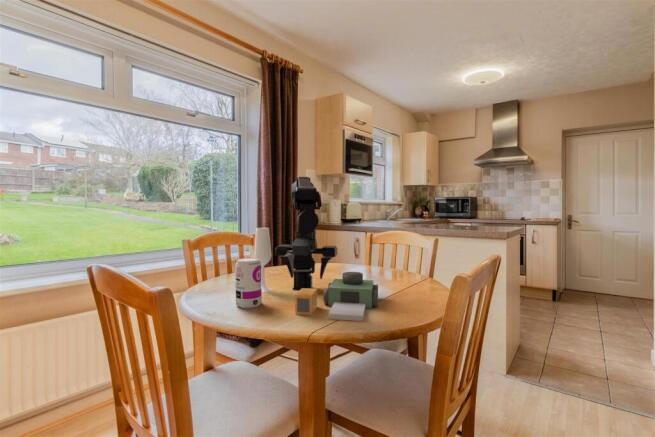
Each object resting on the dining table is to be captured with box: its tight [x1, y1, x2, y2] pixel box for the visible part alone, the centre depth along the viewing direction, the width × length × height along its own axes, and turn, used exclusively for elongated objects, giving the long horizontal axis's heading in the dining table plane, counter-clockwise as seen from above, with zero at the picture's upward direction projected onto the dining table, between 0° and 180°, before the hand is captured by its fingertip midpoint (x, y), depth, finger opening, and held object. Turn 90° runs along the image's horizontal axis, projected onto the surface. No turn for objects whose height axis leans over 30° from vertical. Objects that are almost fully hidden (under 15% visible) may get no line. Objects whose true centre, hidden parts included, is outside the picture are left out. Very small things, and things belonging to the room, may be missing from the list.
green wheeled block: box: [323, 271, 379, 322], centre depth 107 cm, size 17×25×9 cm
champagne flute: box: [253, 227, 273, 294], centre depth 127 cm, size 7×7×24 cm
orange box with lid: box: [294, 288, 318, 316], centre depth 104 cm, size 5×8×6 cm, turn 170°
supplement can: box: [234, 257, 263, 309], centre depth 109 cm, size 8×8×15 cm
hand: (306, 278), depth 104 cm, fingers open, 9 cm apart
